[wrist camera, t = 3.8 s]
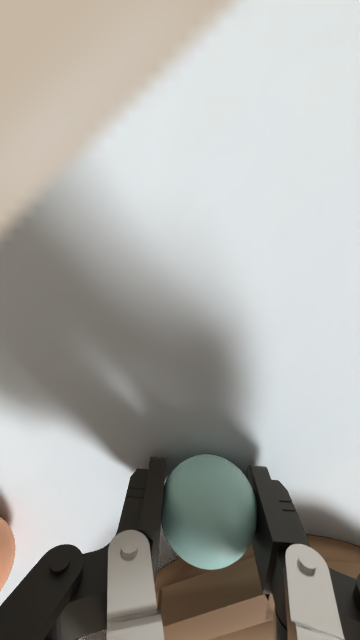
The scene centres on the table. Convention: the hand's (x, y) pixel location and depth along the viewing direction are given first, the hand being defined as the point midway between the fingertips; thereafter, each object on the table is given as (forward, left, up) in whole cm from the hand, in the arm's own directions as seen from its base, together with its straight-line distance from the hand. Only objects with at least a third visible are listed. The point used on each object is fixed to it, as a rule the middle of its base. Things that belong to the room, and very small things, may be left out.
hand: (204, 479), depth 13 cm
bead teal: (0, 0, +1) cm, 1 cm away
